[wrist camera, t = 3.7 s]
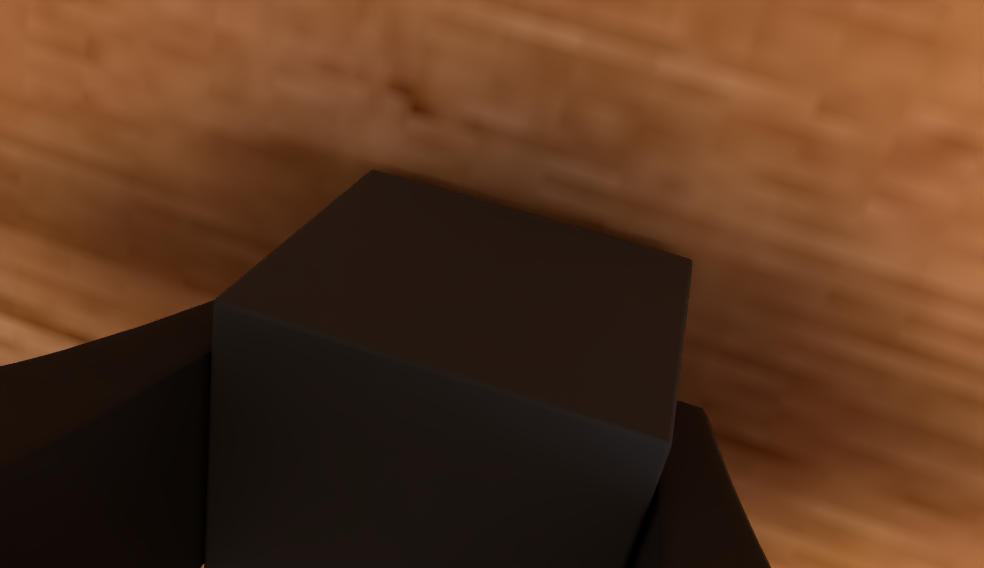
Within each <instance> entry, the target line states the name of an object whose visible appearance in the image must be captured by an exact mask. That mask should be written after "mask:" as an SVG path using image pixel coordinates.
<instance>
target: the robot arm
mask: <svg viewBox="0 0 984 568" xmlns="http://www.w3.org/2000/svg"><path fill="white" fill-rule="evenodd" d="M214 301H215V300H213V301H210V302H207V303H205V304H202V305H199V306H196V307H194V308H191V309H188V310H185V311H182V312H179V313H177V314H174V315H171V316H168V317H165V318H163V319H160V320H157V321H154V322H151V323H148V324H146V325H143V326H140V327H136V328H133V329H130V330H127V331H124V332H120V333H117V334H114V335H111V336H107V337H104V338H101V339H98V340H95V341H91V342H88V343H85V344H82V345H79V346H75V347H72V348H69V349H66V350H62V351H59V352H55V353H51V354H48V355H44V356H40V357H36V358H33V359H29V360H25V361H21V362H17V363H13V364H8V365H4V366H0V568H201V566H202V565H203V564H204V559H205V530H206V501H207V472H208V444H209V415H210V386H211V357H212V329H213V304H214ZM626 568H771V566H770V564H769V562H768V560H767V558H766V556H765V554H764V552H763V550H762V548H761V546H760V544H759V542H758V540H757V538H756V536H755V533H754V531H753V529H752V527H751V525H750V522H749V520H748V518H747V516H746V514H745V511H744V509H743V507H742V505H741V503H740V500H739V498H738V496H737V493H736V491H735V488H734V486H733V484H732V481H731V479H730V476H729V474H728V471H727V468H726V466H725V463H724V461H723V458H722V455H721V453H720V450H719V447H718V445H717V442H716V439H715V436H714V433H713V430H712V427H711V424H710V421H709V418H708V417H707V415H706V413H705V411H704V409H703V408H701V407H698V406H694V405H691V404H688V403H685V402H681V401H678V400H677V404H676V413H675V421H674V430H673V439H672V446H671V449H670V452H669V454H668V457H667V460H666V462H665V465H664V468H663V470H662V473H661V476H660V479H659V481H658V484H657V487H656V489H655V492H654V495H653V497H652V500H651V503H650V505H649V508H648V511H647V513H646V516H645V519H644V521H643V524H642V527H641V529H640V532H639V535H638V537H637V540H636V543H635V545H634V548H633V551H632V553H631V556H630V559H629V561H628V564H627V567H626Z"/></svg>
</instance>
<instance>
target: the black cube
mask: <svg viewBox="0 0 984 568" xmlns="http://www.w3.org/2000/svg"><path fill="white" fill-rule="evenodd" d="M691 273H692V260H690V259H688V258H685V257H681V256H677V255H674V254H670V253H667V252H663V251H660V250H656V249H653V248H649V247H646V246H642V245H639V244H635V243H632V242H628V241H624V240H621V239H617V238H614V237H610V236H607V235H603V234H600V233H596V232H593V231H589V230H586V229H582V228H579V227H575V226H571V225H568V224H564V223H561V222H557V221H554V220H550V219H547V218H543V217H540V216H536V215H533V214H529V213H525V212H522V211H518V210H515V209H511V208H508V207H504V206H501V205H497V204H494V203H490V202H487V201H483V200H480V199H476V198H472V197H469V196H465V195H462V194H458V193H455V192H451V191H448V190H444V189H441V188H437V187H434V186H430V185H426V184H423V183H419V182H416V181H412V180H409V179H405V178H402V177H398V176H395V175H391V174H388V173H384V172H381V171H377V170H371V171H370V172H368V173H367V174H366V175H365V176H364V177H362V178H361V179H360V180H359V181H358V182H356V183H355V184H354V185H353V186H351V187H350V188H349V189H348V190H347V191H345V192H344V193H343V194H342V195H341V196H339V197H338V198H337V199H336V200H335V201H333V202H332V203H331V204H330V205H329V206H327V207H326V208H325V209H324V210H322V211H321V212H320V213H319V214H318V215H316V216H315V217H314V218H313V219H312V220H310V221H309V222H308V223H307V224H306V225H304V226H303V227H302V228H301V229H300V230H298V231H297V232H296V233H295V234H293V235H292V236H291V237H290V238H289V239H287V240H286V241H285V242H284V243H283V244H281V245H280V246H279V247H278V248H277V249H275V250H274V251H273V252H272V253H271V254H269V255H268V256H267V257H266V258H265V259H263V260H262V261H261V262H260V263H258V264H257V265H256V266H255V267H254V268H252V269H251V270H250V271H249V272H248V273H246V274H245V275H244V276H243V277H242V278H240V279H239V280H238V281H237V282H236V283H234V284H233V285H232V286H231V287H229V288H228V289H227V290H226V291H225V292H223V293H222V294H221V295H220V296H219V297H217V298H216V299H215V301H214V304H213V329H212V357H211V386H210V415H209V444H208V472H207V501H206V530H205V559H204V568H626V567H627V564H628V561H629V559H630V556H631V553H632V551H633V548H634V545H635V543H636V540H637V537H638V535H639V532H640V529H641V527H642V524H643V521H644V519H645V516H646V513H647V511H648V508H649V505H650V503H651V500H652V497H653V495H654V492H655V489H656V487H657V484H658V481H659V479H660V476H661V473H662V470H663V468H664V465H665V462H666V460H667V457H668V454H669V452H670V449H671V446H672V439H673V430H674V421H675V413H676V404H677V395H678V386H679V378H680V369H681V360H682V352H683V343H684V334H685V325H686V317H687V308H688V299H689V291H690V282H691Z"/></svg>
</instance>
